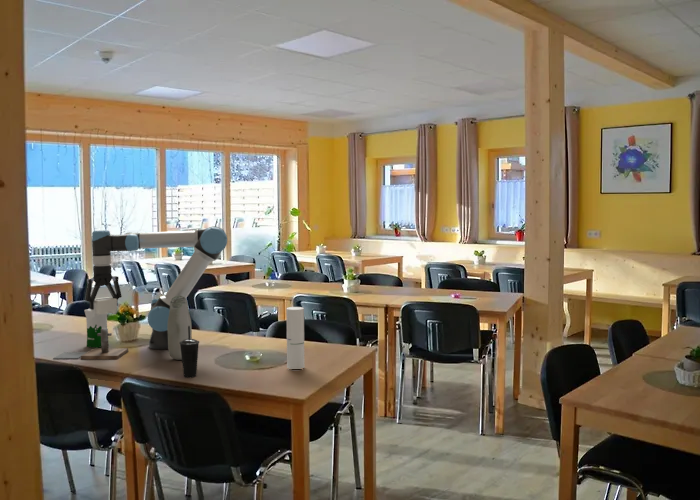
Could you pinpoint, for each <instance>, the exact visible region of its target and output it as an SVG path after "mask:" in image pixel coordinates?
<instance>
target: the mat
mask: <svg viewBox="0 0 700 500" xmlns="http://www.w3.org/2000/svg"><path fill="white" fill-rule="evenodd" d="M87 352H88V351H63V352H62V353H60V354H58V355H56V356H54V357H53V358H52V359H53V360H79V359H81V356H82V355H83V354H85V353H87Z"/></svg>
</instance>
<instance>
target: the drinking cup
mask: <svg viewBox="0 0 700 500" xmlns="http://www.w3.org/2000/svg"><path fill="white" fill-rule="evenodd" d="M179 344H180V347H181V356H182V360H181V364H182V371H183V377H184V378H187V379H188V378H190V377H191V378H195V377H197V373H198V372H197V371H198V358H199V344H200V341H199V340H198V339H195V338H192V339H190V326H188V339H185V340H183V341H181V342H180V343H179Z"/></svg>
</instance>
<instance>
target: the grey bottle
mask: <svg viewBox="0 0 700 500" xmlns="http://www.w3.org/2000/svg"><path fill="white" fill-rule="evenodd" d="M188 326H190V339H193V338H192V335H193V334H192V332H193V331H192V319H191V315H190V311H189V303H188V300H187V298H185V297H183V296H175V297H173V298H172V300H171V302H170V311H169V317H168V324H167V331H168V349H167V350H168V353H169V355H170V357H171V358H173V359H174V360H177V361H180V360H181V361H182V356H181V347H180V344H179V343H180V342H181V341H183V340H185V339H188Z"/></svg>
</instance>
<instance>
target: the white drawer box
mask: <svg viewBox="0 0 700 500" xmlns="http://www.w3.org/2000/svg"><path fill="white" fill-rule="evenodd" d="M94 302H96V314H107V315H108V314H112V313H114V312H116V313H118V306H117V299H116V298H113V297H112V296H106V297H95V300H94ZM91 312H92V310H91Z"/></svg>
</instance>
